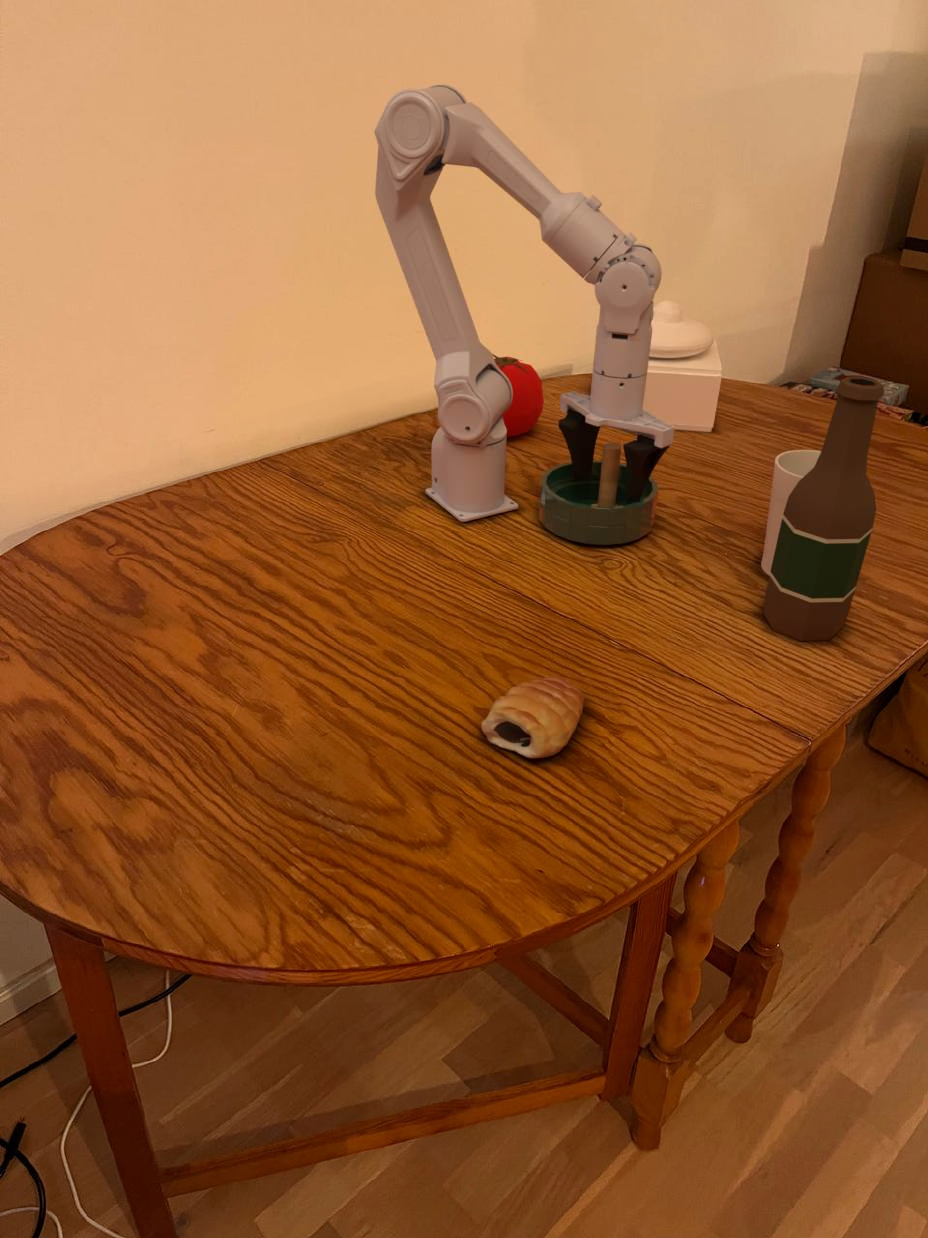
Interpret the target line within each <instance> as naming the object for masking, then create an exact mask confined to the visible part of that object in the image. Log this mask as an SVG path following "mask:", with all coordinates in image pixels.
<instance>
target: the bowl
mask: <svg viewBox="0 0 928 1238" xmlns="http://www.w3.org/2000/svg"><path fill="white" fill-rule="evenodd" d="M601 466H602V460H597V459H596V460H594V459H593V466H592V470H591V474H590V476H588V477H586V478H583V479H581V480H576V479H575V478H574V472H573V466H572V461H568V462H564V463H560V464H557V465H555V466H553V467H551V468H549V469H547V470H546V471H545V472H544V473H543V474H542V475H541V478H540V479H541V480H540V493H539V508H538V509H539V510H538V519H539V521H540V522H541V524H542V526H543V527H544V528H545V529H546V530H548V531H550V532H551V533H552V534H554V535H556V536H557V537H560V538H563V539H565V540H568V541H571V542H574V543H578V544H584V545H588V546H589V545H590V546H614V545H616V546H617V545H621V544H626V543H629V542H634V541H637V540H639V539H641V538H643V537H644V536H646V535H647V534H649V533H650V531H651V530H652V528H653V527H654V525H655V517H656V510H657V504H658V503H657V502H658V495H659V487H658V482H657V481H656V480H655V479H654V478H653V477H652V476H651V475H650V477H649V479H648V482H647V484H646V486H645V489H644V492H643V494H642V497H641V498H639V499H637V500H635V501H633V502H629V501H626V499H625V487H626V478H627V467H626V463H625V464H624V463H620V466H619V475H618V484H617V493H616V502H615V505H617V506H613V507H604V506H590V505H593V504H597V503H598V495H599V485H600V475H601Z"/></svg>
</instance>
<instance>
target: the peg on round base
mask: <svg viewBox="0 0 928 1238" xmlns="http://www.w3.org/2000/svg"><path fill="white" fill-rule="evenodd" d="M622 449H623V446H622V445H621V444H619V443H615V442H607V443H605V444H603V447H602V456H601V461H602V466H601V475H600V485H599V495H598V503H597V504H593V505H590V506H604V507H613V506H617V505H615V502H616V493H617V484H618V475H619V466H620V464H621V456H622V455H621V454H622Z"/></svg>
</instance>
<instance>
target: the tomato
mask: <svg viewBox="0 0 928 1238" xmlns="http://www.w3.org/2000/svg"><path fill="white" fill-rule="evenodd" d="M492 355H493V357H494V360H495V363H496V365H497V366H498V368H499V369H500V370H501V371H502V372H503V373H504V374H505V375H506V376H507V378H508V379H509V381H510V383H511V386H512V390H513V398H512V402H511V405H510V407H509V409H508V410H507V411H506V412H505V413H504V414H502V415H503V421H504V424H505V427H506V429H507V435H506V436H507V438H509V437H515V436H519V435H522V434H525V433H527V432H528V431H530V430H531V429H532V428H533V427H534V426H535V425H536V424H537V422H538V421H539V419H540V416H541V415H542V413H543V410H544V402H545V401H544V391H543V383H542V379H541V378H540V376H539V374H538V372H537V371H536V369H535V368H534V367H533V366H532V365H531V364H528V363H524V362H522V360H520V359H518V358H515V357H511V356H502V357H501V356H497V355H496V354H494V353H492Z"/></svg>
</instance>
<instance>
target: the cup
mask: <svg viewBox="0 0 928 1238" xmlns="http://www.w3.org/2000/svg"><path fill="white" fill-rule="evenodd" d="M821 451H822V450H813V449H794V450H787V451H784V452H781V453H780V454H778V455H777V456H775V459H774V465H773V466H774V467H773V476H772V484H771V492H770V500H769V505H768V507H769V508H768V513H767V514H768V515H767V522H766V523H767V524H766V530H765V531H766V532H765V538H764V546H763V553H762V558H761V563H760V567H761V569H762V571H763V572H764V573H765V574H766V575H767V576H769V575H770V571H771V566H772V562H773V557H774V553H775V548H776V544H777V539H778V535H779V530H780V526H781V521H782V517H783V513H784V510H785V507H786V503H787V500H788V497H789V495H790V494H791V492H792V491H793V489H794V488H795V486H796V485H797V483H798V482H799V481H800V480H801V479H802V478H803V477H804V476H805V475H806V474H807V473H808V472H810V471H811V470H812V469H813V468H814V467H815V464H816V462H817V460H818V458H819V455H820V453H821Z"/></svg>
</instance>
